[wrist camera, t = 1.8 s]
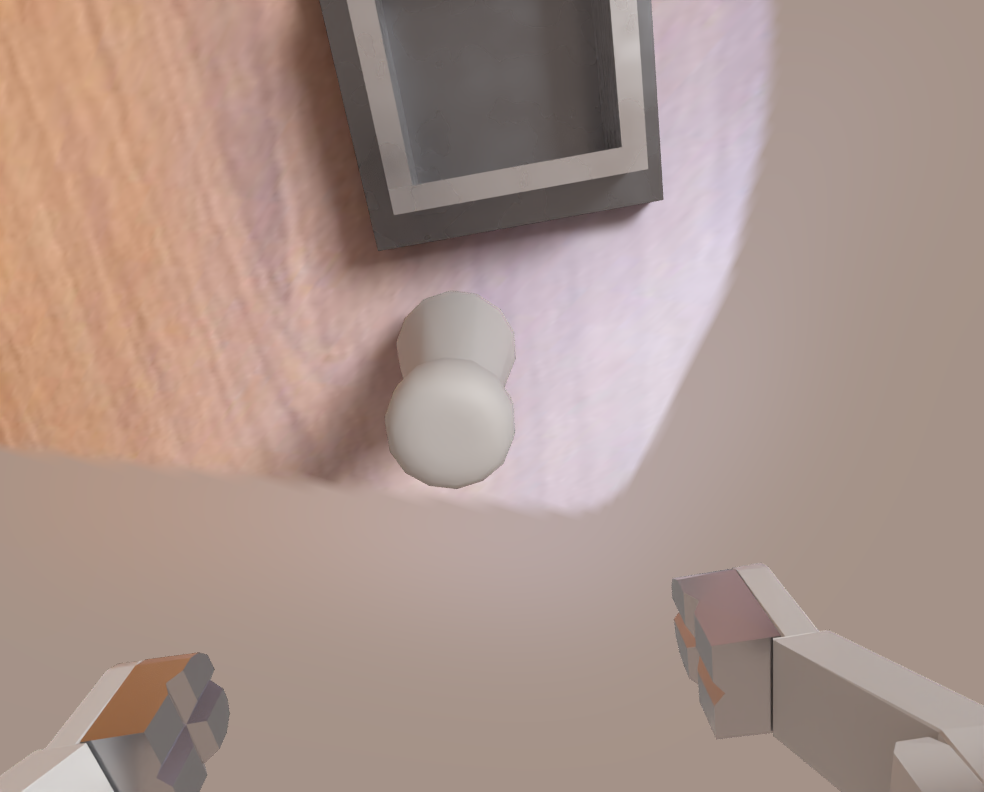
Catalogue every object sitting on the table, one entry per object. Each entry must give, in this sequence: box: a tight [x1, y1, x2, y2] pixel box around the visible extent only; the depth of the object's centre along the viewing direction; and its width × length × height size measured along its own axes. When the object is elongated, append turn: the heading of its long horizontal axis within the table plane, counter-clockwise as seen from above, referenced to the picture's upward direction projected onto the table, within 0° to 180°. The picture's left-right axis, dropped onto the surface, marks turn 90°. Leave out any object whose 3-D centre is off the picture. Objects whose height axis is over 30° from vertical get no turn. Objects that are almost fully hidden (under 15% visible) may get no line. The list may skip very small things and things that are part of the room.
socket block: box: [319, 0, 663, 251], centre depth 23 cm, size 14×14×4 cm
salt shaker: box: [385, 291, 516, 489], centre depth 24 cm, size 6×6×13 cm
